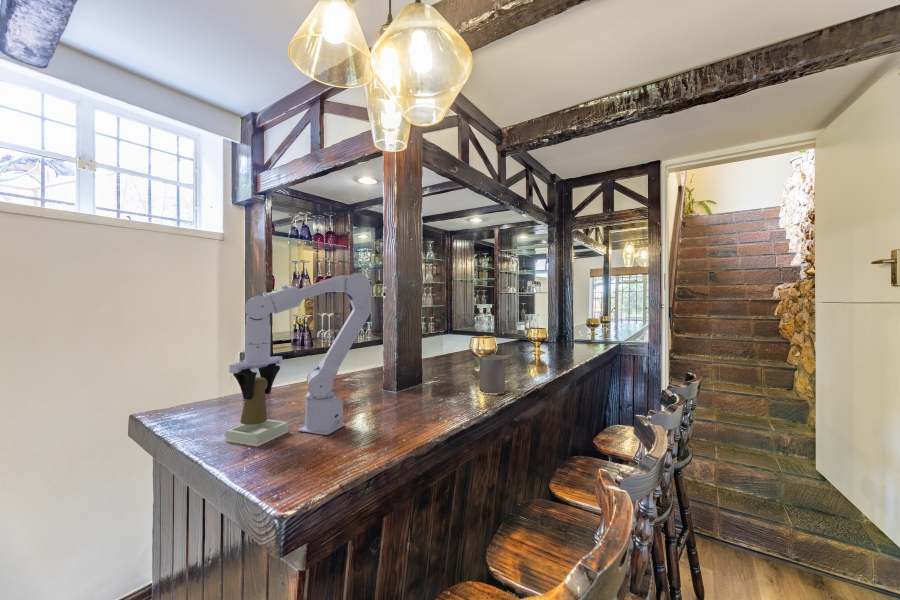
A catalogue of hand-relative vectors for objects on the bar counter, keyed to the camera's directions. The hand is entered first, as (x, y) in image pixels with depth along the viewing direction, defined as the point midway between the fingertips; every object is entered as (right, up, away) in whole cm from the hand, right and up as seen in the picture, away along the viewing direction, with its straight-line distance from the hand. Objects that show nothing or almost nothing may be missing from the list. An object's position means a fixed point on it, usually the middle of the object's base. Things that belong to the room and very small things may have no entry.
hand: (257, 396), depth 91 cm
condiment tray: (0, -10, 0) cm, 10 cm away
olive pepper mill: (-1, -7, 0) cm, 7 cm away
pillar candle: (+66, -11, +45) cm, 80 cm away
